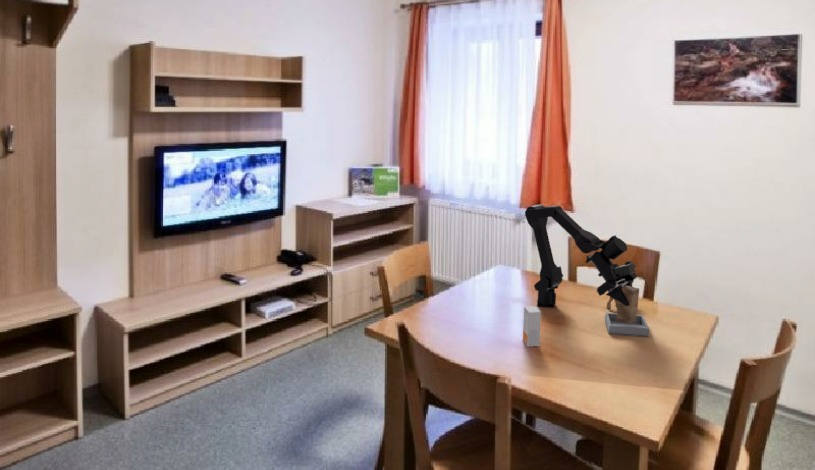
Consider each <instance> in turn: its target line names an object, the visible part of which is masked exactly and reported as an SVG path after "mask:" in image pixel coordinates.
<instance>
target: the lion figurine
mask: <svg viewBox="0 0 815 470" xmlns="http://www.w3.org/2000/svg"><path fill="white" fill-rule="evenodd" d="M632 287H634V286H633V285H632ZM608 299H609V300H608V302H607V303H606V309H608V310H609V311H611V309H612V307H611V305H612V304H611V303H612V301H613V300H614V303H615V305H614V306H615V308H616V309H617V310H618V301H617V300H615V299H614V298H612V297H610V296H609V298H608Z"/></svg>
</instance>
